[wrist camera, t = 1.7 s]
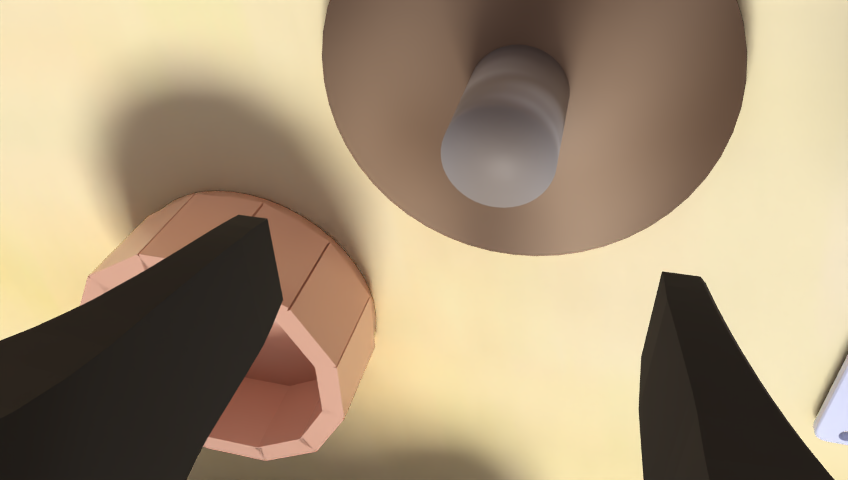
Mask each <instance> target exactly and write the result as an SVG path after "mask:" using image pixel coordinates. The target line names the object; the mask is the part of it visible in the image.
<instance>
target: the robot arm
mask: <svg viewBox="0 0 848 480" xmlns="http://www.w3.org/2000/svg"><path fill="white" fill-rule="evenodd" d="M282 301H283V295H282V290H281V285H280V280H279V275H278V270H277V264H276V259H275V254H274V249H273V244H272V239H271V234H270V228H269V223H268V219H267V218H260V217H252V216H245V215H237V216H235V217H233V218H231V219H229V220H228V221H226V222H224V223H222V224H221V225H219V226H217V227H215V228H214V229H212V230H210V231H209V232H207V233H206V234H204V235H202V236H201V237H199V238H197V239H196V240H194V241H193V242H191V243H189V244H188V245H186V246H184V247H183V248H181V249H180V250H178V251H176V252H175V253H173V254H171V255H170V256H168V257H166V258H165V259H163V260H161V261H160V262H158V263H156V264H155V265H153V266H152V267H150V268H148V269H147V270H145V271H143V272H141V273H140V274H138V275H136V276H134V277H132V278H131V279H129V280H127V281H125V282H123V283H122V284H120V285H118V286H116V287H114V288H113V289H111V290H109V291H107V292H105V293H104V294H102V295H100V296H98V297H96V298H95V299H93V300H91V301H89V302H87V303H85V304H83V305H81V306H79V307H77V308H75V309H73V310H71V311H69V312H66V313H64V314H62V315H60V316H58V317H56V318H53V319H51V320H49V321H47V322H45V323H42V324H40V325H38V326H36V327H33V328H31V329H29V330H26V331H24V332H21V333H19V334H16V335H14V336H11V337H8V338H6V339H3V340H1V341H0V480H186V479H187V477H188V475H189V473H190V471H191V469H192V467H193V465H194V462H195V460H196V458H197V456H198V455H199V453H200V451H201V449H202V447H203V446H204V444H205V442H206V440H207V438H208V437H209V435H210V433H211V432H212V430H213V428H214V427H215V425H216V423H217V422H218V420H219V418H220V417H221V415H222V414H223V412H224V410H225V409H226V407H227V405H228V404H229V402H230V400H231V399H232V397H233V396H234V394H235V392H236V391H237V389H238V387H239V386H240V384H241V382H242V381H243V379H244V378H245V376H246V374H247V372H248V371H249V369H250V367H251V366H252V364H253V362H254V361H255V359H256V357H257V356H258V354H259V352H260V351H261V349H262V347H263V345H264V344H265V341H266V339H267V337H268V335H269V332H270V330H271V328H272V326H273V323H274V321H275V319H276V316H277V314H278V311H279V309H280V306H281V304H282ZM639 421H640V435H641V450H642V463H643V477H644V480H834V479H833V478H832V476H831V475H830V474H829V473H828V472H827V470H826V469H825V468H824V467H823V465H822V464H821V463H820V462H819V461H818V459H817V458H816V457H815V456H814V455H813V453H812V452H811V451H810V450H809V448H808V447H807V446H806V445H805V443H804V442H803V441H802V439H801V438H800V437H799V435H798V434H797V433H796V431H795V430H794V429H793V427H792V426H791V425H790V423H789V422H788V421H787V419H786V418H785V416H784V415H783V414H782V412H781V411H780V409H779V408H778V406H777V405H776V404H775V402H774V401H773V399H772V398H771V396H770V395H769V393H768V392H767V390H766V389H765V387H764V386H763V384H762V383H761V381H760V380H759V378H758V377H757V375H756V373H755V372H754V370H753V369H752V367H751V365H750V364H749V362H748V361H747V359H746V357H745V356H744V354H743V352H742V351H741V349H740V347H739V346H738V344H737V342H736V341H735V339H734V337H733V335H732V333H731V332H730V330H729V328H728V326H727V324H726V323H725V321H724V319H723V317H722V315H721V313H720V311H719V309H718V308H717V306H716V304H715V302H714V300H713V298H712V295H711V293H710V291H709V289H708V287H707V285H706V283H705V282H704V281H703V279H702V278H701V277H699V276H692V275H684V274H677V273H669V272H662V274H661V278H660V282H659V287H658V291H657V295H656V299H655V303H654V307H653V311H652V315H651V319H650V323H649V327H648V332H647V336H646V340H645V344H644V348H643V352H642V356H641V373H640V393H639ZM813 428H814V432H815V435H816V436H817V437H818V438H819V439H821V440H824V441H828V442H833V443H839V444H845V445H848V355H847V357H846V359H845V361H844V363H843V365H842V367H841V369H840V371H839V373H838V375H837V377H836V379H835V381H834V383H833V385H832V387H831V389H830V391H829V393H828V395H827V397H826V399H825V401H824V403H823V405H822V407H821V409H820V411H819V413H818V415H817V417H816V419H815V421H814V423H813ZM844 431H847V432H844Z"/></svg>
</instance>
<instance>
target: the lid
mask: <svg viewBox="0 0 848 480" xmlns="http://www.w3.org/2000/svg"><path fill="white" fill-rule="evenodd" d="M322 62H323V74H324V83H325V87H326V92H327V97H328V101H329V105H330V108H331V111H332V114H333V117H334V120H335V123H336V125H337V128H338V130H339V132H340V134H341V136H342V138H343V140H344V142H345V144H346V146H347V148H348V149H349V151H350V153H351V154H352V156H353V157H354V159H355V160H356V162H357V164H358V165H359V167H360V168H361V169H362V170H363V171H364V173H365V174H366V175H367V176H368V178H369V179H370V180H371V181H372V183H373V184H374V185H375V186H376V187H377V188H378V189H379V190H380V191H381V192H382V193H383V194H384V195H385V196H386V197H387V198H388V199H389V200H390V201H392V202H393V203H394V204H395V205H397V206H398V207H399V208H400V209H402V210H403V211H404V212H405V213H407V214H408V215H410V216H411V217H413V218H414V219H416V220H417V221H419V222H421V223H422V224H424V225H425V226H427V227H429V228H431V229H433V230H435V231H437V232H439V233H441V234H443V235H445V236H447V237H449V238H452V239H454V240H457V241H460V242H462V243H465V244H467V245H471V246H475V247H478V248H482V249H486V250H489V251H495V252H501V253H507V254H513V255H528V256H548V255H563V254H570V253H577V252H583V251H587V250H591V249H595V248H599V247H603V246H606V245H609V244H612V243H614V242H617V241H620V240H623V239H625V238H628V237H630V236H632V235H634V234H636V233H638V232H640V231H642V230H644V229H646V228H648V227H649V226H651V225H653V224H654V223H656V222H657V221H659V220H660V219H662V218H663V217H665V216H666V215H668V214H669V213H670V212H672V211H673V210H674V209H675V208H676V207H677V206H679V205H680V204H681V203H682V202H683V201H684V200H686V199H687V198H688V197H689V196H690V195H691V194H692V193H693V192H694V191H695V189H696V188H697V187H698V186H699V185H700V184H701V183H702V182H703V181H704V180H705V178H706V177H707V176H708V174H709V173H710V171H711V170H712V169H713V167H714V166H715V164H716V163H717V161H718V160H719V158H720V157H721V155H722V153H723V151H724V149H725V147H726V145H727V143H728V141H729V139H730V137H731V135H732V133H733V131H734V128H735V125H736V122H737V119H738V116H739V113H740V110H741V106H742V101H743V95H744V90H745V84H746V72H747V47H746V40H745V32H744V24H743V20H742V16H741V13H740V9H739V6H738V3H737V0H330V2H329V5H328V9H327V14H326V19H325V25H324V30H323V47H322Z"/></svg>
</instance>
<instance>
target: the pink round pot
mask: <svg viewBox="0 0 848 480" xmlns="http://www.w3.org/2000/svg"><path fill="white" fill-rule="evenodd" d="M237 215H245V216H252V217H260V218H267V219H268V223H269V228H270V234H271V239H272V244H273V249H274V254H275V259H276V264H277V270H278V275H279V280H280V285H281V290H282V295H283V301H282V304H281V306H280V309H279V311H278V314H277V316H276V319H275V321H274V323H273V326H272V328H271V330H270V332H269V335H268V337H267V339H266V341H265V344H264V345H263V347H262V349H261V351H260V352H259V354H258V356H257V357H256V359H255V361H254V362H253V364H252V366H251V367H250V369H249V371H248V372H247V374H246V376H245V378H244V379H243V381H242V382H241V384H240V386H239V387H238V389H237V391H236V392H235V394H234V396H233V397H232V399H231V400H230V402H229V404H228V405H227V407H226V409H225V410H224V412H223V414H222V415H221V417H220V418H219V420H218V422H217V423H216V425H215V427H214V428H213V430H212V432H211V433H210V435H209V437H208V438H207V440H206V442H205V444H204V446H203V447H206V448H208V449H213V450H218V451H222V452H227V453H232V454H236V455H241V456H245V457H250V458H255V459H259V460H264V461H265V460H266V461H268V460H274V459H279V458H285V457H290V456H296V455H301V454H307V453H312V452H316V451H318V449H319V448H320V447H321V446H322V445H323V443H324V442H325V441H326V440H327V439H328V438H329V436H330V435H331V434H332V433H333V432H334V431H335V429H336V428H337V427H338V426H339V425H340V423H341V422H342V421H343V420H344V418H345V416H346V413H347V411H348V409H349V406H350V404H351V402H352V399H353V397H354V395H355V392H356V390H357V388H358V385H359V383H360V380H361V378H362V376H363V373H364V371H365V369H366V366H367V364H368V362H369V359H370V357H371V355H372V352H373V350H374V347H375V342H374V335H375V329H376V314H375V308H374V302H373V299H372V296H371V293H370V290H369V288H368V286H367V284H366V282H365V280H364V278H363V276H362V274H361V273H360V271H359V270H358V268H357V267H356V265H355V263H354V262H353V261H352V260H351V258H350V257H349V256H348V255H347V254H346V252H345V251H344V250H343V249H342V248H341V247H340V246H339V245H338V244H337V243H336V242H335V241H334V240H333V239H332V238H331V237H330V236H328V235H327V234H326V233H325V232H323V231H322V230H321V229H320V228H319V227H317V226H316V225H314V224H313V223H311V222H310V221H308V220H307V219H305V218H304V217H302V216H301V215H299V214H297V213H295V212H293V211H291V210H289V209H287V208H286V207H283V206H281V205H278V204H276V203H274V202H271V201H269V200H266V199H262V198H259V197H256V196H252V195H248V194H242V193H237V192H227V191H207V192H199V193H194V194H189V195H186V196H184V197H181V198H178V199H176V200H174V201H173V202H171V203H169V204H168V205H166V206H165V207H164V208H163V209H161V210H159V211H157V212H155V213H153V214H151V215H149V216H148V217H147V218H146V219H145V220H144V221H143V222H142V223H141V224H140V225H139V226H138V227H137V228H136V229H135V230H134V231H133V232H132V233H131V234H130V235H129V236H128V237H127V238H126V239H125V240H124V241H123V242H122V243H121V244H120V245H119V246H118V247H117V248H116V249H115V250H114V251H113V252H112V253H111V254H110V255H109V256H108V257H107V258H106V259H105V260H104V261H103V262H102V263H101V264H100V265H99V266H98V267H97V268H96V269H95V270H94V271H93V272H92V273H91V274H90V275H89V276H88V278H87V281H86V285H85V289H84V293H83V296H82V300H81V304H80V306H81V305H83V304H85V303H87V302H89V301H91V300H93V299H95V298H96V297H98V296H100V295H102V294H104V293H105V292H107V291H109V290H111V289H113V288H114V287H116V286H118V285H120V284H122V283H123V282H125V281H127V280H129V279H131V278H132V277H134V276H136V275H138V274H140V273H141V272H143V271H145V270H147V269H148V268H150V267H152V266H153V265H155V264H156V263H158V262H160V261H161V260H163V259H165V258H166V257H168V256H170V255H171V254H173V253H175V252H176V251H178V250H180V249H181V248H183V247H184V246H186V245H188V244H189V243H191V242H193V241H194V240H196V239H197V238H199V237H201V236H202V235H204V234H206V233H207V232H209V231H210V230H212V229H214V228H215V227H217V226H219V225H221V224H222V223H224V222H226V221H228V220H229V219H231V218H233V217H235V216H237Z"/></svg>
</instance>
